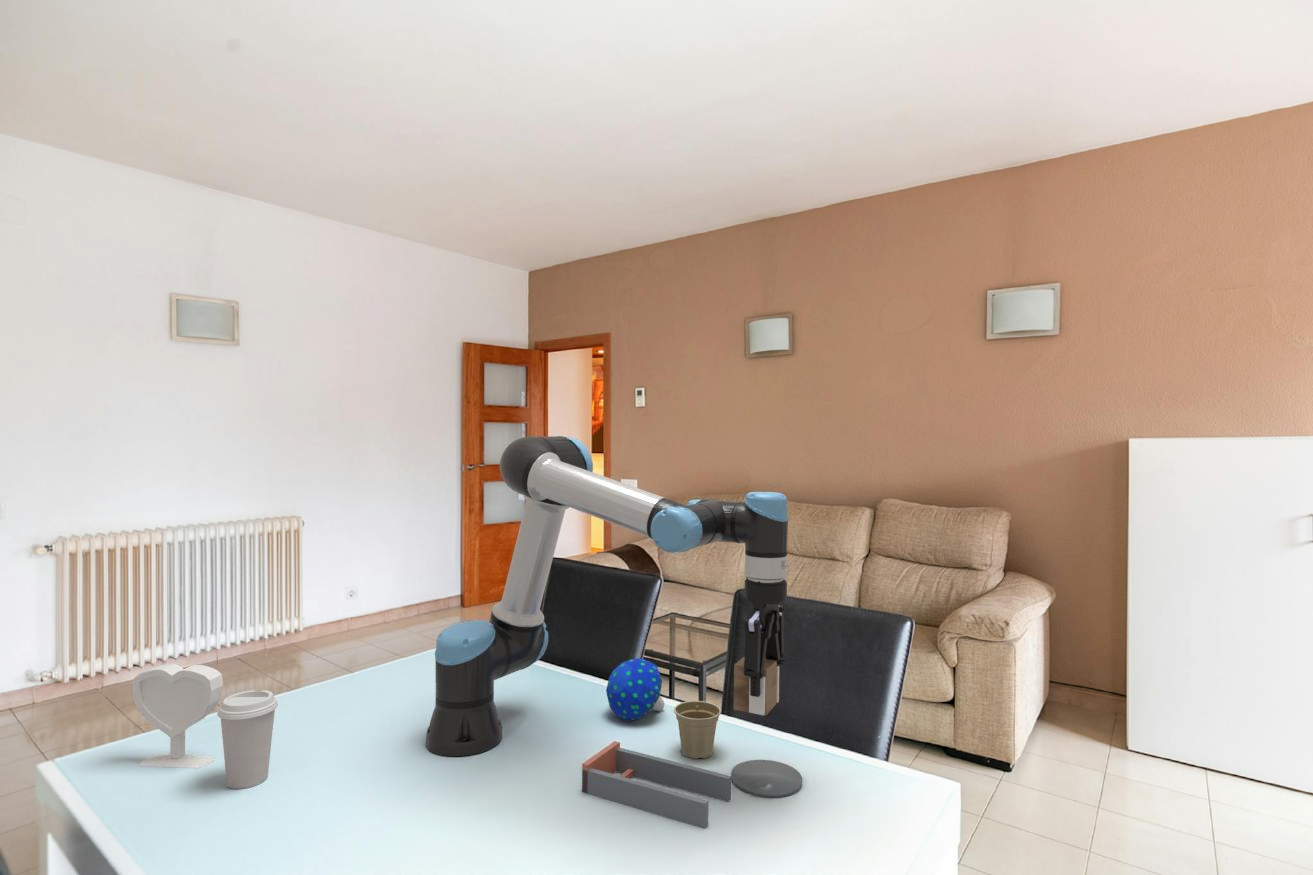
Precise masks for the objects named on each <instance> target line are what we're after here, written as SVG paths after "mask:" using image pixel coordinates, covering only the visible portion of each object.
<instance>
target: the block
mask: <svg viewBox="0 0 1313 875" xmlns="http://www.w3.org/2000/svg"><path fill="white" fill-rule="evenodd" d="M776 671H777V661H776V660H769V659H766V658H765V664H764V672H763V677H765V714H764V715H763V716H765V717H766V716H767V715H768V714H769V713H770V711H772V710H773V708H774V707H775V706H776V704H777V703H776ZM733 710H734V711H740V712H745V713H749V714H751V713H750V712H749V676H745V675H744V656H743V657H741V659H739V660H738V661H737V662H735V663H734V666H733Z"/></svg>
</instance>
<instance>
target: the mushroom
mask: <svg viewBox="0 0 1313 875" xmlns="http://www.w3.org/2000/svg"><path fill="white" fill-rule="evenodd" d="M658 668H659V667H658V666H657V664H655V663H653V662H651V661H650V660H646V659H644V658H640V657H639V658H638V657H637V658H631V659H628V660H626V661H623V662H621V663H620V664H619V665H618V666H617V667H615V668H614V669H613V670H612V672H611V674H610V676H609V677H608V681H607V685H606V689H605V691H606V692H605V693H606V696H607V701H608V705H609V708H610V709H611V711H612V713H613V714H614V715H615V716H617V717H619V718H620V719H621V720H622V721H624V722H632V721H636V720H640V719H643V718H644V717H645V716H646V715H648V713H649V712H650V711H655V712H661V711H662V710H663V709H664V707H665V701H664V700H663V698H662V697H661V692H662V687H663V686H662V684H663V679H662V677H661V674H660V671H659V669H658Z"/></svg>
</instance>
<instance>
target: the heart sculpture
mask: <svg viewBox="0 0 1313 875" xmlns="http://www.w3.org/2000/svg"><path fill="white" fill-rule="evenodd" d="M223 690H224V680H223V674H222V673H221V672H220V671H219V670H217V669H215V668H213V667H211V666H207V665H204V664H193V665H190V666H188V667H186V668H183V667H182V666H180V665H178V664H176V663H166V664H162V665H158V666H156V667H153V668H150V669H147V670H145V671H143V672H141V673H138V675H137V676H135V677H133V683H132V696H133V702H134V705H135V707H136V708H137V711H138V712H139V713H140V715H141V716H142V717H143V718H144V719H145V720H146V721H147V722H148V723H149V724H150V725H152V726H153V727H155V728H156V729H157V730H158V731H159V730H160V732H163V733H164V734H165V735H167V736H168V737H169V740H170V745H169V746H170V748H169V749H170V752H169V754H168V753H167V754H166V753H163V754H162V753H157V754H155V755H151V756H149V757H146V758H144V759H143V760H141V762H139V764H138V766H139V767H157V768H158V767H159V768H184V769H186V768H187V769H188V768H190V769H199V768H202V767H204V766H207V765H209V764H211V763H213V762H214V761H215V759H216V755H199V754H198V755H195V754H194V755H192V754H186V730H188V729H190V728H191V727H192V726H193V725H195V724H197V723H198V722H200V721H202V720H204V719H205V718H206V717H207V716H209V715H210V714H211V713H212V712H214V711H215V709H216V707H217V706H218V704H219V703H220V701H221V699H222V696H223Z"/></svg>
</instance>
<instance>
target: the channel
mask: <svg viewBox="0 0 1313 875" xmlns="http://www.w3.org/2000/svg"><path fill="white" fill-rule="evenodd" d="M581 766H582V767H581V792H582V793H585V794H589V795H591V796H595V797H598V798H601V799H604V800H608V801H612V802H615V803H617V804H622V805H623V806H624V805H625V806H628V807H631V808H634V809H638V810H641V811H645V812H648V813H651V814H655V815H657V816H662V817H665V818H667V819H672V820H674V821H677V822H681V823H685V824H687V825H691V826H695V827H698V828H701V829H705V830H706V828H707V827H708V826H709V804H710V802H709V800H708V799H705V798H699V797H697V796H696V797H695V796H693V795H688V794H686V793H683V792H679V791H675V790H672V789H668V788H665V787H660V786H658V785H653V784H649V783H646V782H642V781H639V780H636V779H633V777H636V778H639V779H642V780H647V781H650V782H654V783H658V784H661V785H664V786H665V785H666V786H668V787H672V788H675V789H678V790H683V791H687V792H690V793H693V794H696V795H697V794H698V795H702V796H705V797H708V798H712V799H716V800H719V801H722V802H726V803H729V802H731V800H732V781H731V775H728V774H724V773H722V772H716V771H714V770H713V771H712V770H709V769H705V768H701V767H697V766H693V765H691V764H685V763H682V762H678V761H675V760H674V761H673V760H669V759H665V758H661V757H658V756H653V755H650V754H646V753H643V752H639V751H634V750H631V749H628V748H627V749H626V748H623V747H621V742H619V741H618V740H616V741H615V740H614V741H613V742H611V743H609V744H608V745H607V746H605V747H604V748H603V749H601V750H600V751H598V752H596V753H595V754H594V755H592V756H591V757H590V758H588V759H587V760H586V761H584V762H583V763H581ZM617 772H618V773H621V774H620V775H619V774H618V775H617V774H615V773H617Z"/></svg>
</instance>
